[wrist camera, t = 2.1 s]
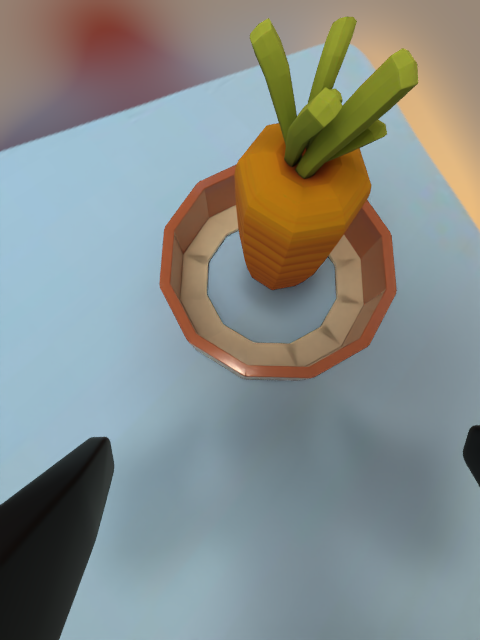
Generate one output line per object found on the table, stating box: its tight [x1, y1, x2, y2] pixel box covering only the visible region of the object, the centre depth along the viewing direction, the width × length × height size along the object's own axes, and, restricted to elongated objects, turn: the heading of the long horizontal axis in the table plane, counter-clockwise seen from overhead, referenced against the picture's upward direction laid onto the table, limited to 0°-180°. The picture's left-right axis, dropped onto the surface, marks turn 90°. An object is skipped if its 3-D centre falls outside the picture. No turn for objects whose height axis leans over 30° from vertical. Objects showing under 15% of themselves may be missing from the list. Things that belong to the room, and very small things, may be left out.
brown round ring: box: [159, 164, 397, 381], centre depth 20 cm, size 13×13×4 cm
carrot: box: [234, 17, 418, 290], centre depth 14 cm, size 5×5×15 cm
